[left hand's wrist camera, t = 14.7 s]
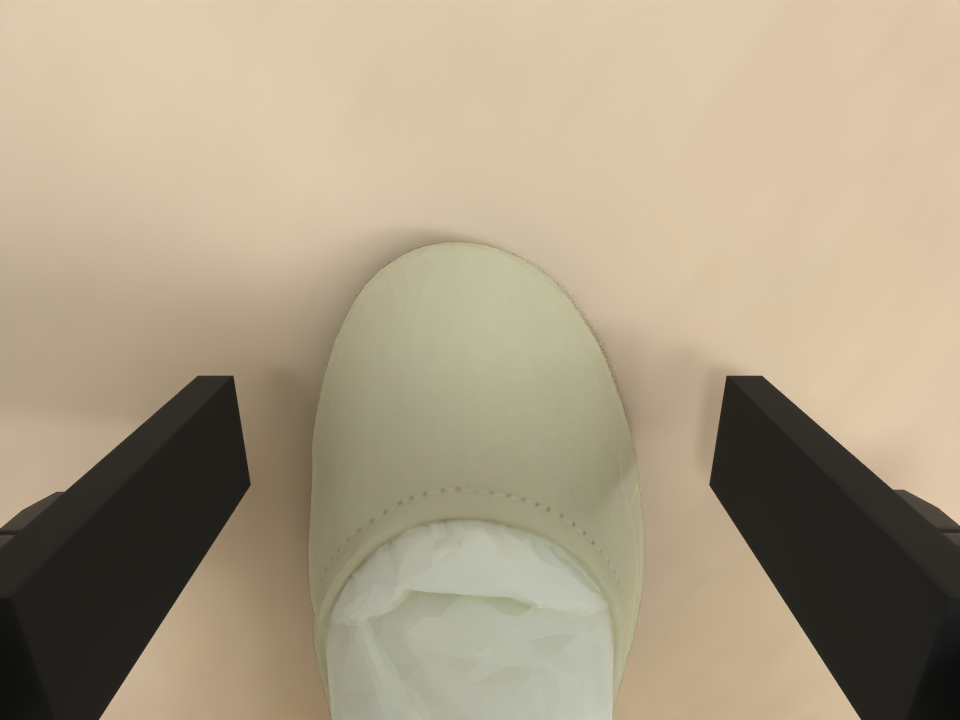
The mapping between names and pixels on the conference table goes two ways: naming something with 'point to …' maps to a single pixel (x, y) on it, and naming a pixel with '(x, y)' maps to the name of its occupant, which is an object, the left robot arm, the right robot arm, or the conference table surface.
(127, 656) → the left robot arm
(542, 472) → the ballet flat
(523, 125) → the conference table surface
